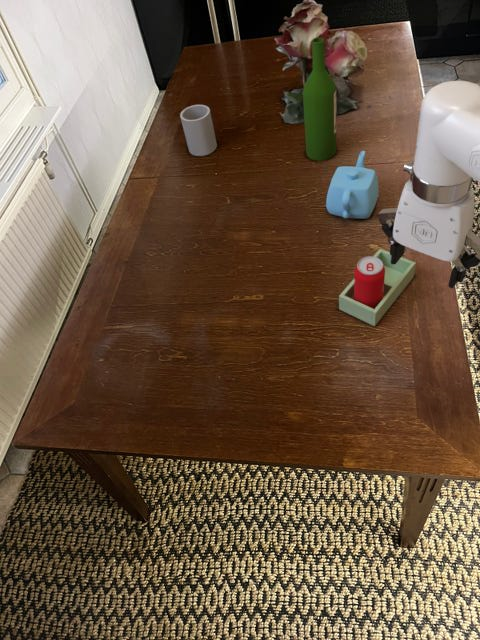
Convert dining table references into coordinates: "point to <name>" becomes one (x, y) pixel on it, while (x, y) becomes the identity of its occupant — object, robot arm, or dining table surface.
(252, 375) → the dining table surface
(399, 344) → the dining table surface
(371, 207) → the teapot
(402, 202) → the robot arm
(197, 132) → the cup
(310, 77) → the wine bottle
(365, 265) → the beverage can
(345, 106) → the rose bouquet
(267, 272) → the dining table surface
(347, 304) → the can holder
